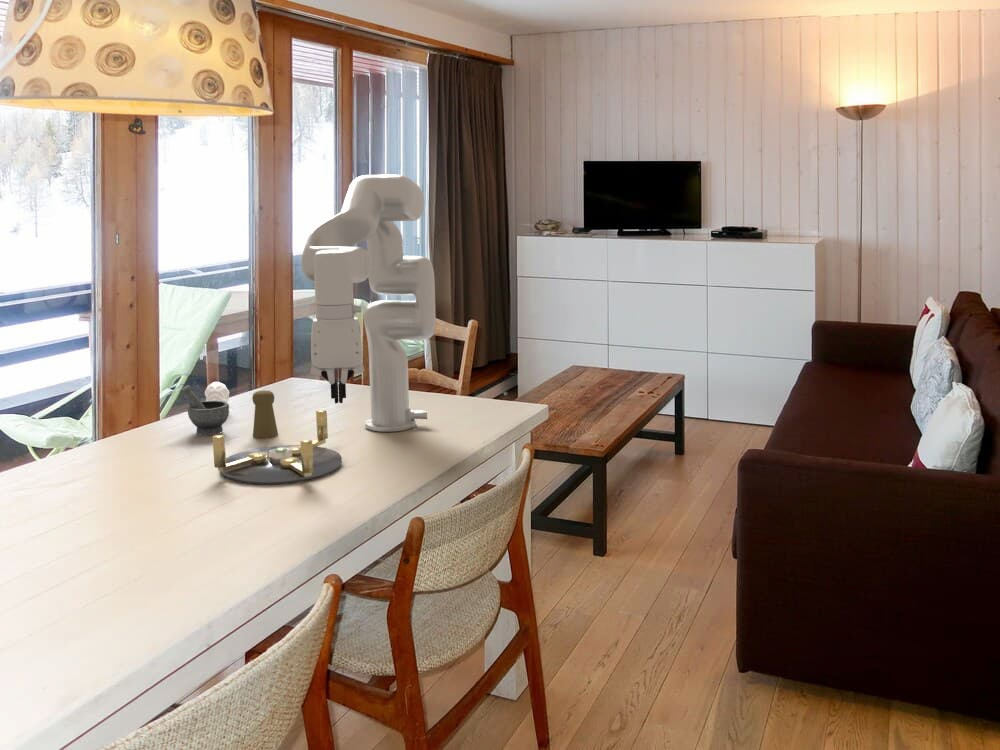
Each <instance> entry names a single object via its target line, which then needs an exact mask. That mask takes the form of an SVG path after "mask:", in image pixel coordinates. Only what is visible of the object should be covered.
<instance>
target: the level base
mask: <svg viewBox="0 0 1000 750" xmlns="http://www.w3.org/2000/svg"><path fill="white" fill-rule="evenodd" d="M295 446H301V444H300V445H299V444H287V445H284V444H283V445H271V446H265V447H264V446H263V447H258V448H252V449H249V450H247V449H246V450H243V451H240V452H236V453H234V454H232V455H229V456H227V457H226V464H227V463H231V462H234V461H237V460H241V459H244V458H248V455H249V454H252V453H266V454H267V461H265V462H262V463H250V464H247V465H243V466H240V467H237V468H234V469H230V470H227V471H224V472H223V471H219V474H220V475H221V476H222V478H224V479H226V480H227V481H228V480H229V481H231V482H234V483H239V484H244V483H245V484H246V485H255V486H258V485H259V486H264V485H265V486H274V485H275V486H278V485H287V484H288V485H290V484H297V482H299V483H304V482H308V481H309V480H310V481H313V479H314V480H318V479H320V477H321V478H325V477H327V476H329V475H332V474H334V473H336V472H337V471H338V470H339V469H340V468H341V467H342V465H343V460H342V458H343V457H342V455H341V454H340V453H339V452H338V451H336V450H333V449H331V448H327V447H321V446H317V447H314V448H313V463H314V472H312V476H307V477H304V476H302V475H301V474H299V473H298V472H296V471H294V470H293V469H291V468H282V467H281V466H280V460H281V459H283V458H288V457H293V451H292V449H290V448H289V447H295ZM295 458H299V464H300V465H302V462H301V456H296V457H295ZM336 470H337V471H336ZM331 473H332V474H331ZM328 474H329V475H328ZM326 475H327V476H326ZM317 478H318V479H317Z"/></svg>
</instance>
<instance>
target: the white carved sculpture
mask: <svg viewBox="0 0 1000 750" xmlns="http://www.w3.org/2000/svg"><path fill="white" fill-rule="evenodd" d="M204 396H205V401H223V402H227V403H228V401H229V400H230V390H229V389H228V388H227V386H226V384H224V383H222V382H220V381H213V382H212V383H209V384H208V385H207V387H206V388H205V391H204Z"/></svg>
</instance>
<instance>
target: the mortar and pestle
mask: <svg viewBox="0 0 1000 750" xmlns="http://www.w3.org/2000/svg"><path fill="white" fill-rule="evenodd" d="M179 392H180V394H181V395H183V397H184V398H185V399H186V400H185V401H187V403H188V405H187V406H186V408H187V409H186V410H187V415H188V418H189V420H190V422H191V423H192V424H193V426H195V427H196V434H197V433H198V434H201V435H200V436H203V435H207V436H214V435H213V434H216V435H219V434H218V433H220V432H222V431H224V430H223V425H224V423H226V421H227V420H228V417H229V414H230V404H229V403H228V402H223V401H206V400H203V401H201V400H200V399H199V397H198V396H197V395H196V394H195V392H194V391H193V390H192V386H191V385H189V384H188V385H186V386H184V387H182V388H181V389H180V391H179ZM222 433H223V432H222ZM198 434H197V435H198ZM220 434H221V433H220Z"/></svg>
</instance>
